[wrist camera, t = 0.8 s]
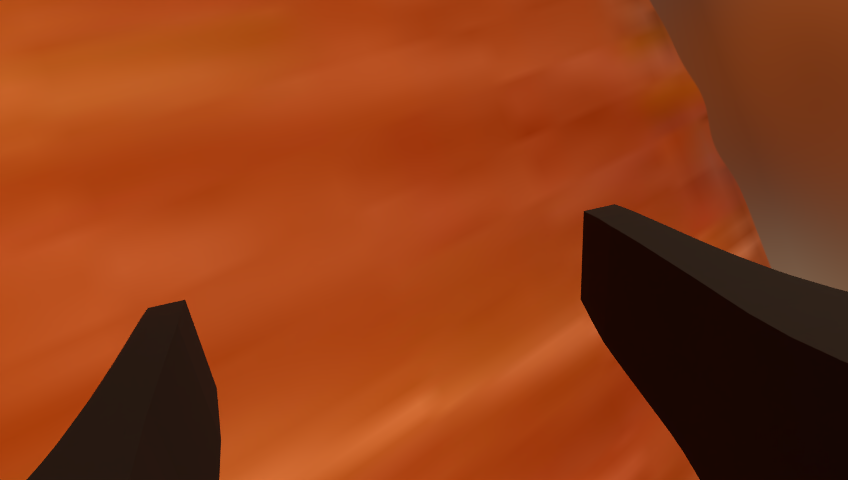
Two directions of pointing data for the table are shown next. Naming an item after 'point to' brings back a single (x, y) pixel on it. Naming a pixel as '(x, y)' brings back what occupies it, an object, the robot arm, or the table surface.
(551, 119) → the table surface
